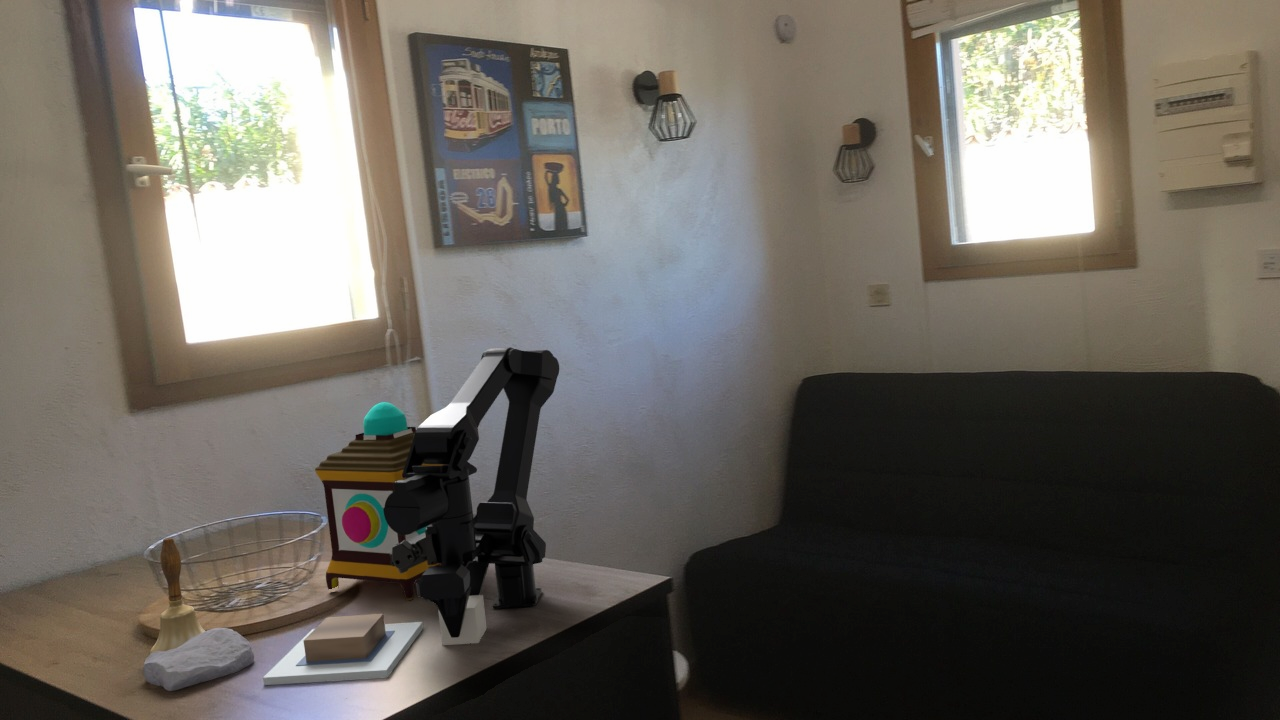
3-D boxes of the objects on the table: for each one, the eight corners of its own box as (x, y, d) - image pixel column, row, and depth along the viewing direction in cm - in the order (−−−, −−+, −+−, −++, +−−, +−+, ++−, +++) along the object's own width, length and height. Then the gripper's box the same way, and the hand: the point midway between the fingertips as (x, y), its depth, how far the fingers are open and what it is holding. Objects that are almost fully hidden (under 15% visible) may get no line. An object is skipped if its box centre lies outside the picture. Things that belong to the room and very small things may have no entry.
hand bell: (153, 643, 140) (138, 537, 138) (215, 631, 143) (201, 527, 141) (146, 664, 132) (130, 551, 131) (211, 650, 135) (196, 540, 134)
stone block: (264, 674, 130) (225, 647, 136) (262, 643, 129) (223, 616, 135) (177, 714, 121) (139, 683, 127) (174, 680, 120) (136, 650, 126)
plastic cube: (451, 631, 135) (447, 597, 134) (486, 629, 134) (482, 594, 134) (442, 645, 130) (438, 610, 129) (478, 643, 129) (474, 607, 129)
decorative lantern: (396, 557, 173) (377, 393, 170) (486, 564, 164) (468, 391, 161) (314, 596, 155) (291, 413, 152) (411, 605, 146) (388, 412, 143)
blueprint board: (313, 635, 137) (310, 608, 137) (423, 628, 136) (419, 601, 136) (264, 685, 121) (259, 654, 121) (387, 677, 120) (383, 647, 120)
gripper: (413, 500, 140) (425, 603, 142) (370, 537, 121) (384, 655, 123) (488, 494, 139) (499, 598, 141) (456, 531, 121) (469, 650, 122)
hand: (463, 623), depth 132 cm, fingers open, 9 cm apart
